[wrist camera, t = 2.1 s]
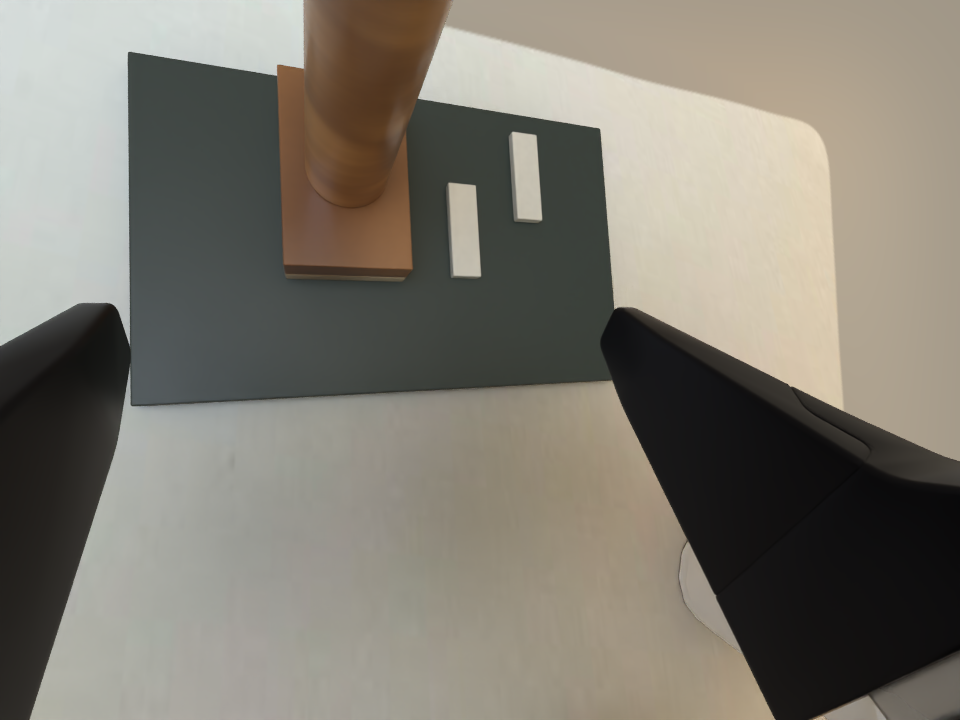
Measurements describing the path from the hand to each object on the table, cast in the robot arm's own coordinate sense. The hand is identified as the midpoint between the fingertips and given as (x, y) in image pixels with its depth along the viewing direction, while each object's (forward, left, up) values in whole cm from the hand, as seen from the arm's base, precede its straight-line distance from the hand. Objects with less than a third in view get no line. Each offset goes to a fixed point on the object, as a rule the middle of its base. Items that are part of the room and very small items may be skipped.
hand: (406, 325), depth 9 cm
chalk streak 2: (-1, -13, -12) cm, 18 cm away
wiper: (+5, -6, -12) cm, 15 cm away
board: (+1, -7, -13) cm, 15 cm away
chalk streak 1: (0, -8, -12) cm, 15 cm away
